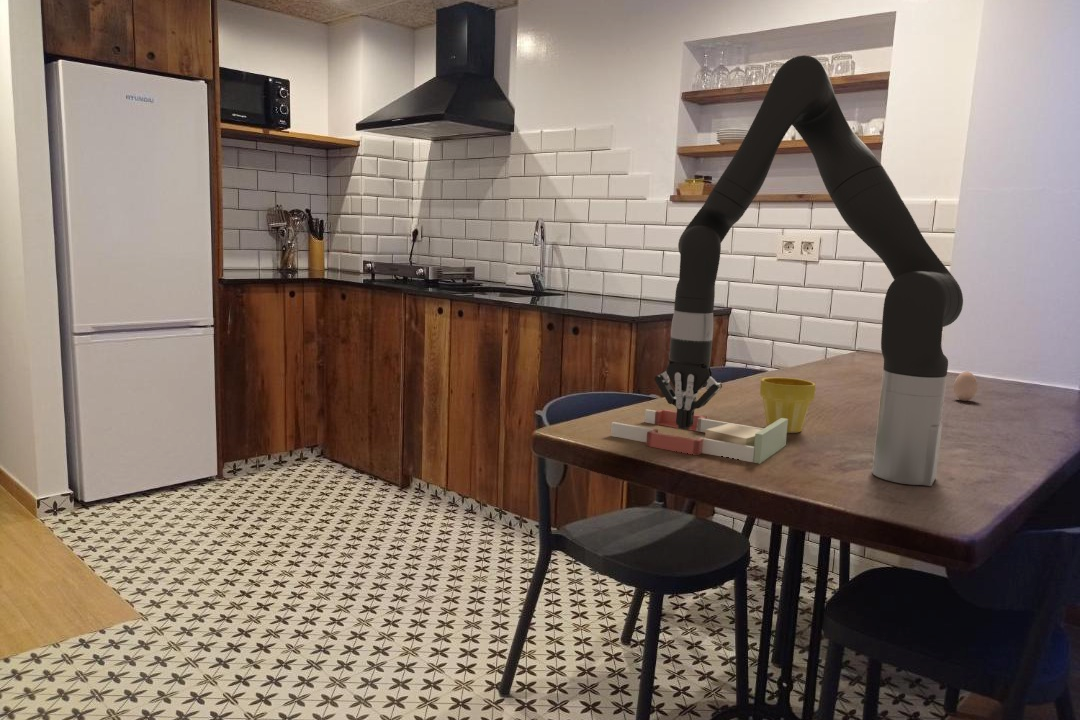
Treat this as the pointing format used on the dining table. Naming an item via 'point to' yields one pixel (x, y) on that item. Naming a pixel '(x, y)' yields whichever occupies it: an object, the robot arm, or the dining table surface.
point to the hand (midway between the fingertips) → (683, 428)
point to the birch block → (732, 434)
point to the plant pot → (787, 400)
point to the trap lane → (764, 446)
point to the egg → (965, 386)
